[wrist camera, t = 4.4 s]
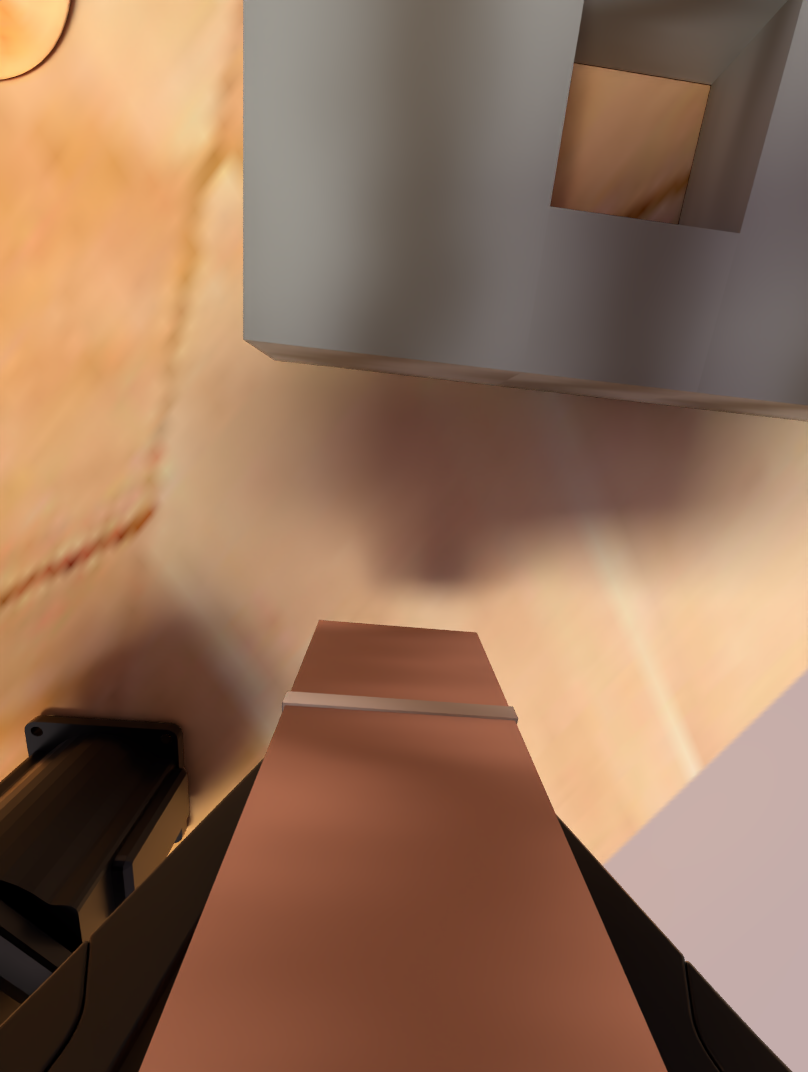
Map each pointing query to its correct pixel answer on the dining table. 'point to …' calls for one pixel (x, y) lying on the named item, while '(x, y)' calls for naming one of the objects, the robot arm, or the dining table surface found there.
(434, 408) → the dining table surface
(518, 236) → the board
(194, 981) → the peg
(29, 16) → the beer glass
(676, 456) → the dining table surface
